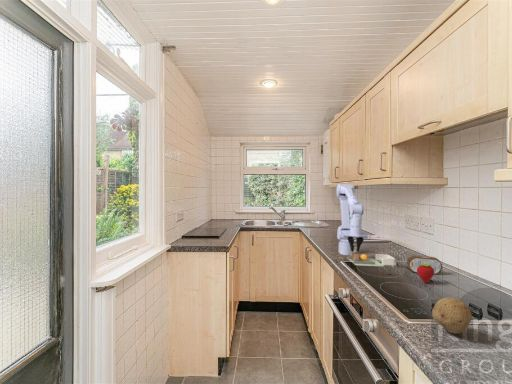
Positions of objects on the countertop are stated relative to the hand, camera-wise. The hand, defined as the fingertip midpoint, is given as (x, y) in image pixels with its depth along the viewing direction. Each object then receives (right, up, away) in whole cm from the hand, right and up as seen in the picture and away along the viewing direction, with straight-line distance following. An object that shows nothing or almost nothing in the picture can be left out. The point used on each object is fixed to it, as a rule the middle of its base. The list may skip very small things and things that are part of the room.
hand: (354, 251), depth 150 cm
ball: (+5, -4, 0) cm, 6 cm away
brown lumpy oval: (+2, -8, -71) cm, 72 cm away
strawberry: (+21, -8, -29) cm, 36 cm away
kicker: (0, -6, 0) cm, 6 cm away
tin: (+29, -8, -14) cm, 33 cm away
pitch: (+9, -7, 0) cm, 11 cm away
